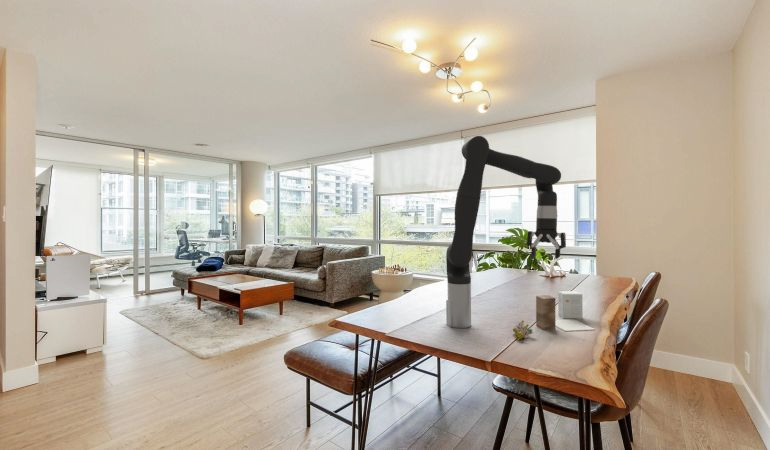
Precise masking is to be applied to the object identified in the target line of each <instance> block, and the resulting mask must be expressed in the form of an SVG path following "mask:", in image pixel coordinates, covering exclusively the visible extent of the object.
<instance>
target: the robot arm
mask: <svg viewBox="0 0 770 450" xmlns="http://www.w3.org/2000/svg"><path fill="white" fill-rule="evenodd" d="M461 154H462V156H463V158H464V159H465V168H464V172H463V175H462V177H461V181H460V183H459V186H458V189H457V192H456V197H455V202H454V232H453V238H452V241H451V244H449V245H448V247H447V249H446V252H445V253H446V254H445V255H446V256H445V258H446V261H445V262H446V264H445V265H446V277H447V299H446V301H445V303H446V304H445V305H446V306H445V307H446V308H445V310H446V311H445V313H446V315H445V316H446V324H447V326H449V327H450V328H457V329H465V328H466V329H467V328H470V327H471V326H472V276H471V272H470V262H471V260H472V258H473V244H474V232H475V231H474V230H475V228H476V223H477V219H478V214H479V208H480V202H481V197H482V196H481V194H482V188H483V187H482V186H483V178H484V171H485V168H486V165H487V166H491V167H495V168H498V169H501V170H503V171H505V172H506V171H507V172H509V173H512V174H515V175H516V176H519V177H523V178H526V179H534V180H535V188H536V194H537V209H536V223H535V224H536V225H535V229H536V230H535V231H532V230H529V231H527V238H526V245H527V246H528V247H530V248H531V250H530V251H531V252H530V253H531V255H532V258H533V257H535V258H536V257H537V246H538V245H539V244H540V243H547V244H548V243H549V244H552V245H553V247H554V248H555V250H554V251H555V252H554V259H556V260H558V259H559V258H561V249H565V248H566V246H567V237H566V235H567V234H566V232H558V231H557V229H558V193H556V192H555V191H554V188H553V185H556V184H558V183H559V182H560V180H561V179H562V172H561V171H560V169H559V168H557V167H556V166H553V165H551V164H546V163H541V162H537V161H534V160H531V159H528V158H525V157H522V156H519V155H516V154H512V153H505V152H500V151H497V150H494V149H491V148H490V144H489V141H488V140H487V139H486V137H484V136H482V135H475V136H472V137H471V138H469V139H468V140H467V141H465V142H464V144H463V145H462V147H461ZM534 236H535V237H536V239H535V240H534V241H533V237H534ZM557 237H558V238H559V239H560V244H559V241H557V239H556V238H557Z"/></svg>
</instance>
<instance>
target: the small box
mask: <svg viewBox="0 0 770 450" xmlns="http://www.w3.org/2000/svg"><path fill="white" fill-rule="evenodd" d="M557 301H558V302H557V307H558V308H557V310H558V316H560V317H561V318H562V319H583V318H584V317H583V316H584V314H583V293H581V292H579V291H575V290H574V291H573V290H572V291H571V290H567V291H566V290H561V291H560V290H559V291H558V292H557Z"/></svg>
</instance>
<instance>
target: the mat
mask: <svg viewBox="0 0 770 450" xmlns="http://www.w3.org/2000/svg"><path fill="white" fill-rule="evenodd" d="M555 328H558V329H560V330H561V331H564V332H581V331H595V330H596V328H593V327H591V326H589V325H587V324H584V323H582V322H581V321H578V320H576V319H575V318H566V319H555Z"/></svg>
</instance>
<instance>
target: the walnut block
mask: <svg viewBox="0 0 770 450" xmlns="http://www.w3.org/2000/svg"><path fill="white" fill-rule="evenodd" d="M535 298H536V299H535V306H536V307H535V315H536V316H535V317H536V318H535V322H536V323H535V324H536V325H535V326H536V327H537V328H539V329H541V330H542V331H546V330H550V331H551V330H556V326H555V320H556V297H553V296H551V295H548V294H547V295H546V294H545V295H536V296H535Z"/></svg>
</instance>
